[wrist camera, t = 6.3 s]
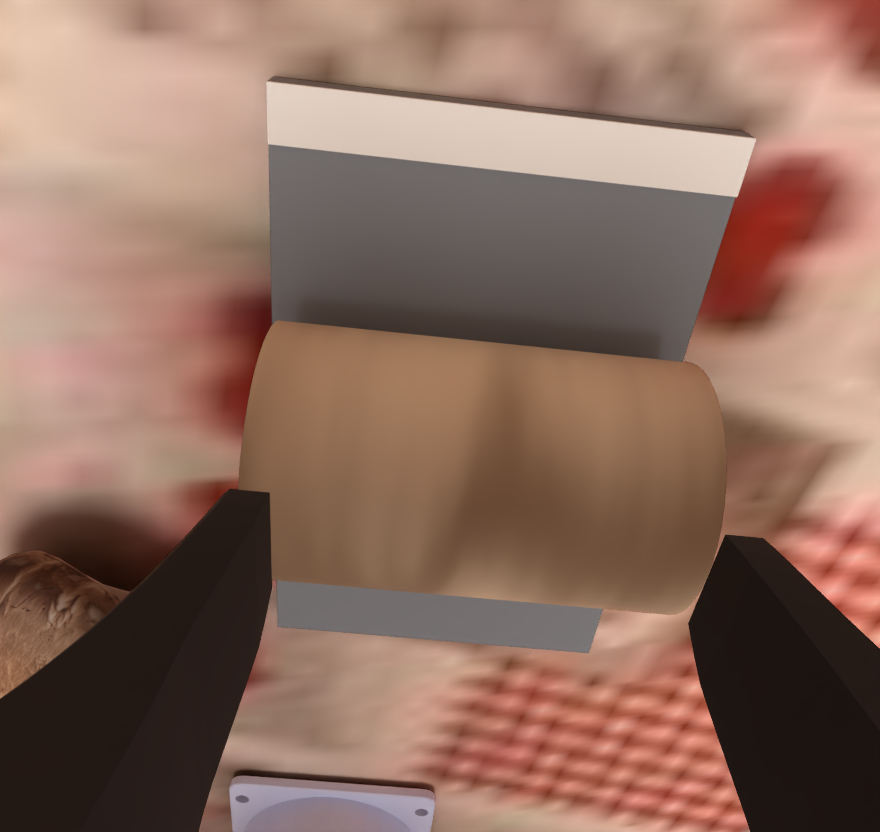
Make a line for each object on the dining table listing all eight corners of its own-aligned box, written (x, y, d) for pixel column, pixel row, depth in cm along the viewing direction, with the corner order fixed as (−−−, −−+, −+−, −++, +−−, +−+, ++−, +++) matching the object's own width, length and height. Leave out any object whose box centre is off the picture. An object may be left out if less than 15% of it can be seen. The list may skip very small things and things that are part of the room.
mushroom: (292, 623, 19) (89, 836, 16) (276, 696, 26) (129, 859, 22) (86, 438, 21) (-141, 595, 17) (119, 550, 27) (-42, 681, 24)
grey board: (585, 638, 24) (589, 655, 24) (281, 612, 24) (276, 629, 23) (744, 131, 16) (755, 139, 15) (273, 76, 15) (266, 82, 15)
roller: (618, 502, 20) (668, 670, 16) (293, 472, 20) (243, 635, 15) (674, 320, 17) (756, 459, 13) (292, 279, 17) (231, 408, 12)
